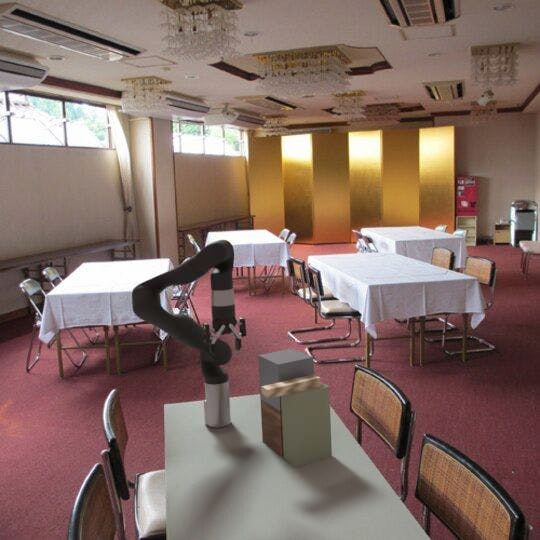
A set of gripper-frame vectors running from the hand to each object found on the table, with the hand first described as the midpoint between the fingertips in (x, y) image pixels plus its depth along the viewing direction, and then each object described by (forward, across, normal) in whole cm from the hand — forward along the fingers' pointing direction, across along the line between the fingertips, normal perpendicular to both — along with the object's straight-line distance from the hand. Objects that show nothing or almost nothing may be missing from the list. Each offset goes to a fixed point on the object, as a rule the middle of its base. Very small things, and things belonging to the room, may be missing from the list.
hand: (226, 352), depth 184 cm
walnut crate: (+38, +23, +2) cm, 45 cm away
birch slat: (+14, +18, -10) cm, 25 cm away
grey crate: (+22, +23, +2) cm, 32 cm away
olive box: (+38, +23, -10) cm, 46 cm away
